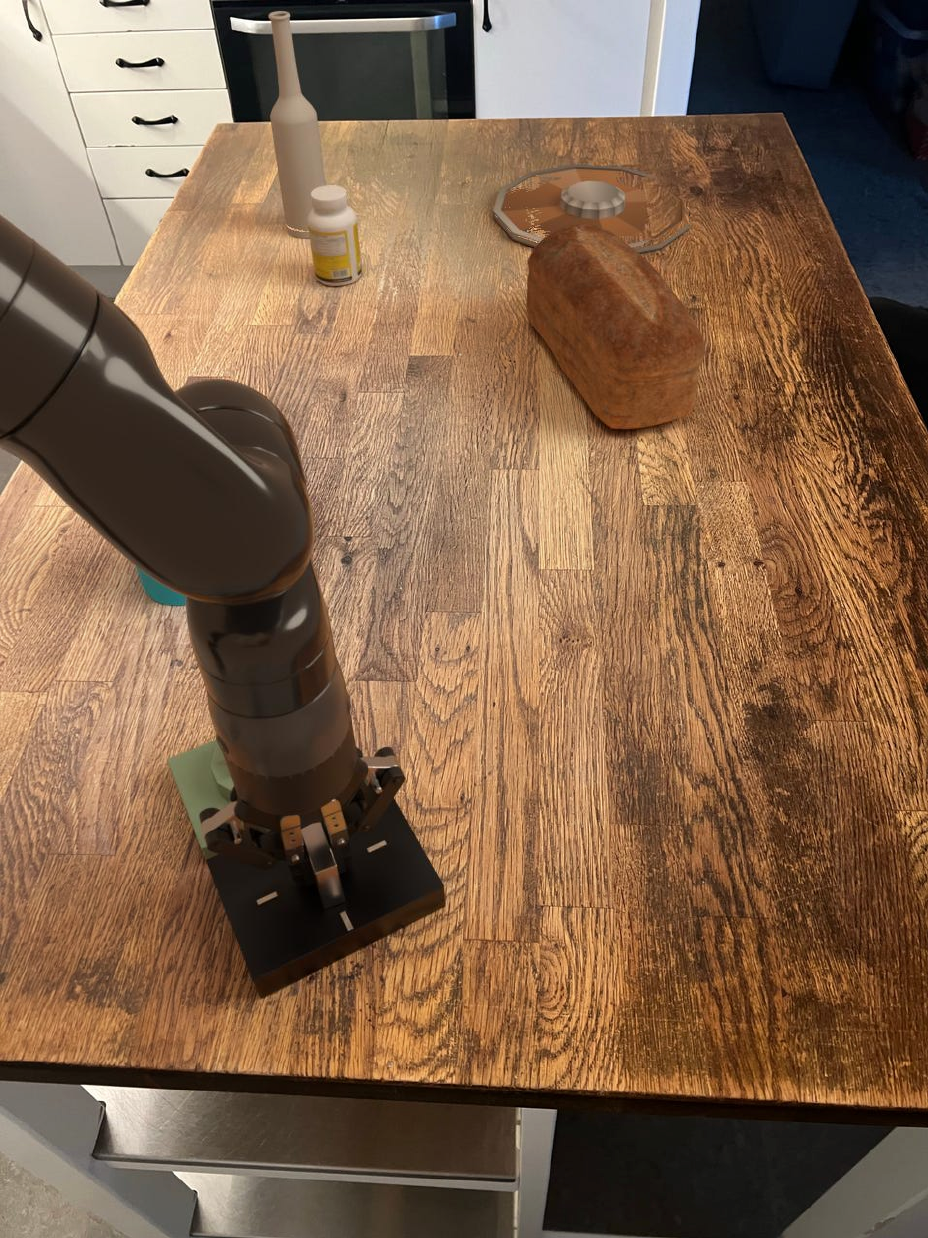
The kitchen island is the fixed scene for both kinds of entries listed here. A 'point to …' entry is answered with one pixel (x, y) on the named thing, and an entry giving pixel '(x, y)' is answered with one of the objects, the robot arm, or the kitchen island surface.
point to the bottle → (294, 134)
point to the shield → (579, 204)
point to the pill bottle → (334, 237)
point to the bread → (614, 327)
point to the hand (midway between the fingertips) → (321, 868)
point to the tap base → (316, 937)
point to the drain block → (202, 784)
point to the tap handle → (323, 865)
